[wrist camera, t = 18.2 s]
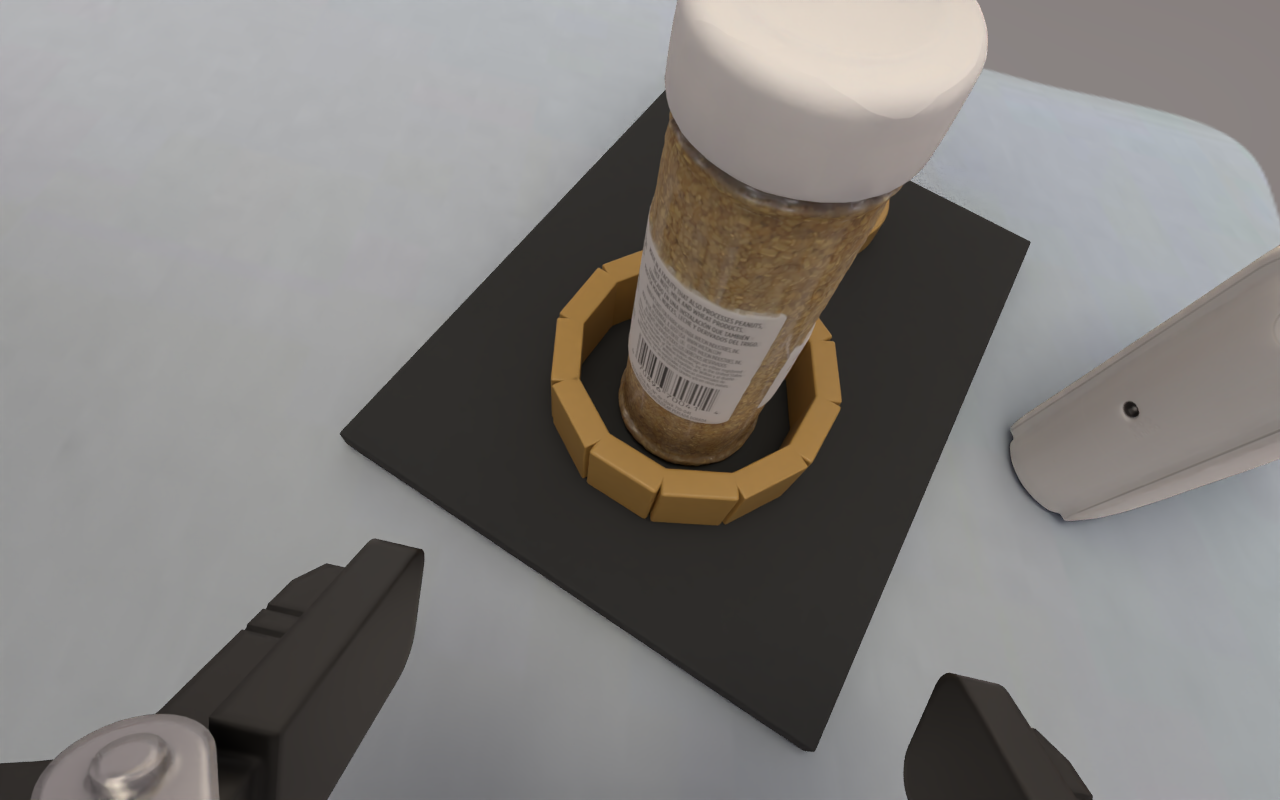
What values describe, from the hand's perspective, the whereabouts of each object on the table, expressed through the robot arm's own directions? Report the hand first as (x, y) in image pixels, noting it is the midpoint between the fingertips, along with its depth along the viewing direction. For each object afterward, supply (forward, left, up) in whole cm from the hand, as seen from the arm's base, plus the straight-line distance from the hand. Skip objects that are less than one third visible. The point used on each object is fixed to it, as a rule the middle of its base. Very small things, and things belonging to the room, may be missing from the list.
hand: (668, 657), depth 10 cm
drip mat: (-3, +12, -9) cm, 15 cm away
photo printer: (+11, +16, -9) cm, 22 cm away
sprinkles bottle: (-3, +8, -8) cm, 12 cm away
